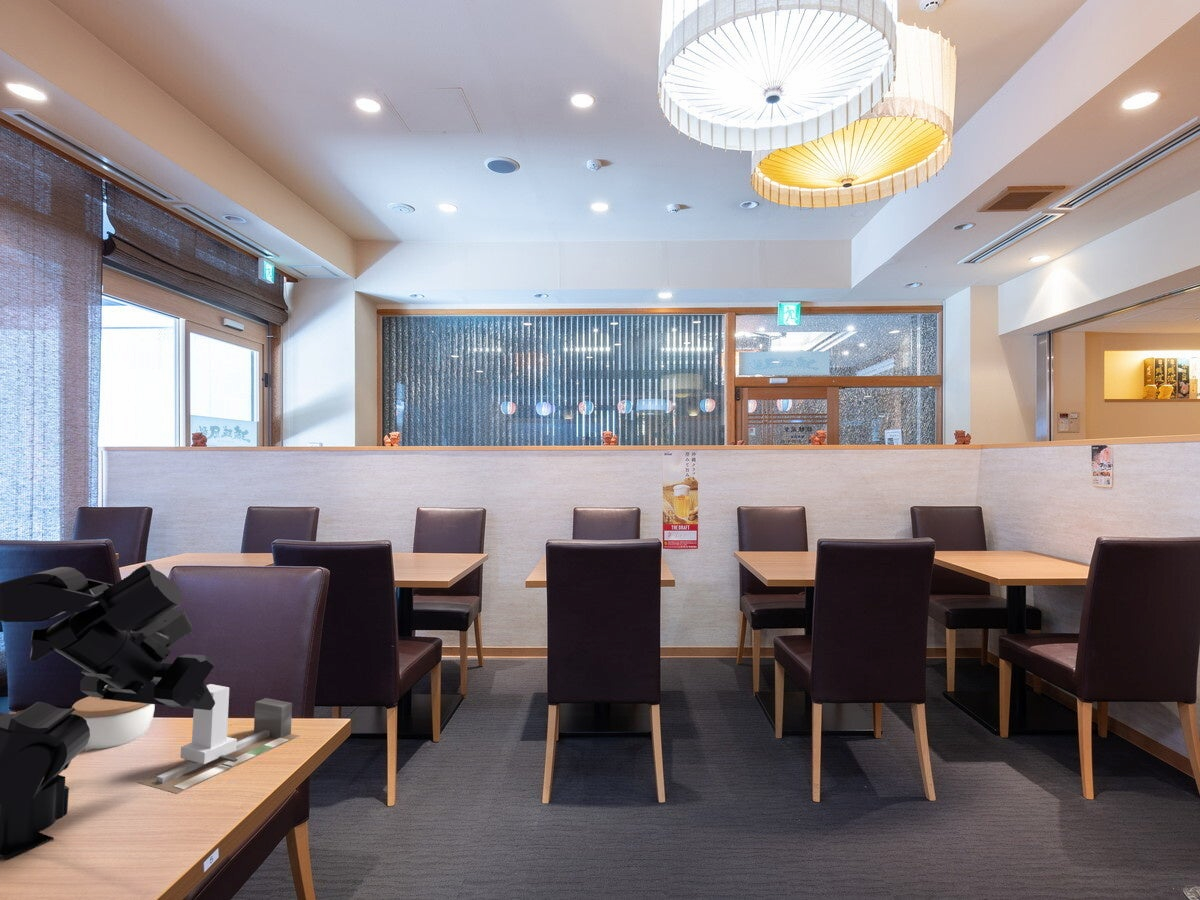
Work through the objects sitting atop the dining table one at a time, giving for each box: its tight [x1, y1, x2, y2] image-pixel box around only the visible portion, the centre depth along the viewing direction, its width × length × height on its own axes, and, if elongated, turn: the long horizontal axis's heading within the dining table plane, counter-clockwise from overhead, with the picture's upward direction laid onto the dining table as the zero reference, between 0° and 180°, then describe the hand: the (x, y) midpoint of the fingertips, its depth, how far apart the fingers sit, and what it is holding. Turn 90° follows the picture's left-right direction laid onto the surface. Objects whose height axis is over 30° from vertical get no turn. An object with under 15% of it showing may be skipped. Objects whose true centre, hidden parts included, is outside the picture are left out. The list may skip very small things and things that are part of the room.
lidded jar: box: [71, 695, 156, 752], centre depth 97 cm, size 11×11×9 cm
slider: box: [180, 683, 238, 764], centre depth 89 cm, size 5×8×10 cm, turn 69°
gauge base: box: [137, 697, 300, 795], centre depth 91 cm, size 20×8×6 cm, turn 159°
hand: (189, 704), depth 86 cm, fingers open, 9 cm apart
